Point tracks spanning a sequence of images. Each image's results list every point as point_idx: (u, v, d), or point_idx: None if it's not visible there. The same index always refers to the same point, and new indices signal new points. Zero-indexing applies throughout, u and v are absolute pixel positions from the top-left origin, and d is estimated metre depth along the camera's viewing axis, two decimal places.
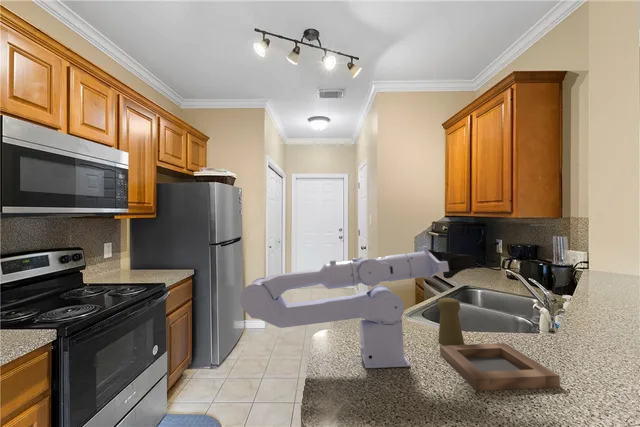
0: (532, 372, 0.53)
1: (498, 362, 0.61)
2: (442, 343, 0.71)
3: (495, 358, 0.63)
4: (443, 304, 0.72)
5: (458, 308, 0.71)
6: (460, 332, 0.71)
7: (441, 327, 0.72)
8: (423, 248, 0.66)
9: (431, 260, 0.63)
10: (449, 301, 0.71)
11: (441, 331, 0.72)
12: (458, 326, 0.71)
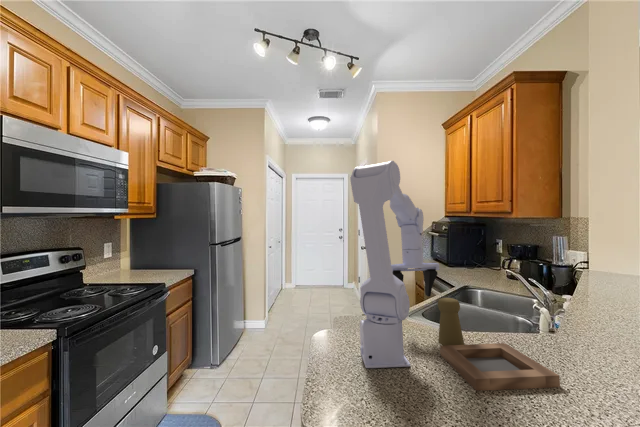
0: (532, 372, 0.53)
1: (498, 362, 0.61)
2: (442, 343, 0.71)
3: (495, 358, 0.63)
4: (443, 304, 0.72)
5: (458, 308, 0.71)
6: (460, 332, 0.71)
7: (441, 327, 0.72)
8: None
9: None
10: (449, 301, 0.71)
11: (441, 331, 0.72)
12: (458, 326, 0.71)
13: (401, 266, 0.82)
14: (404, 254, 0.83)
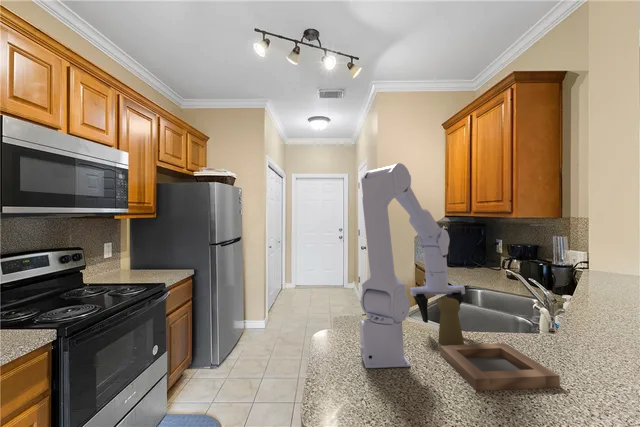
0: (532, 372, 0.53)
1: (498, 362, 0.61)
2: (442, 343, 0.71)
3: (495, 358, 0.63)
4: (443, 304, 0.72)
5: (458, 308, 0.71)
6: (460, 332, 0.71)
7: (441, 327, 0.72)
8: None
9: None
10: (449, 301, 0.71)
11: (441, 331, 0.72)
12: (458, 326, 0.71)
13: (425, 290, 0.78)
14: (428, 277, 0.79)
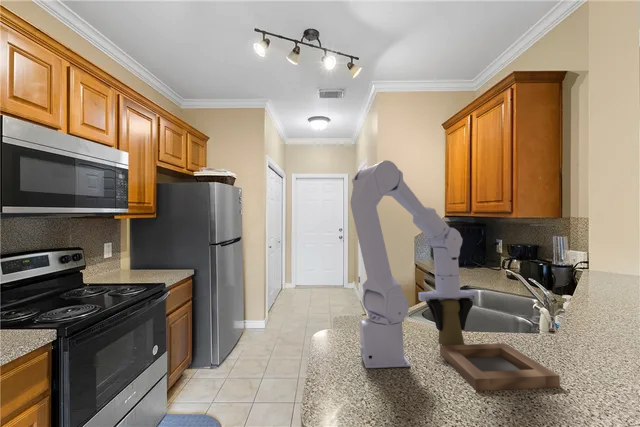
0: (532, 372, 0.53)
1: (498, 362, 0.61)
2: (442, 343, 0.71)
3: (495, 358, 0.63)
4: (443, 304, 0.72)
5: (458, 308, 0.71)
6: (460, 332, 0.71)
7: None
8: None
9: None
10: (449, 301, 0.71)
11: (441, 331, 0.72)
12: (458, 326, 0.71)
13: (435, 295, 0.71)
14: (438, 281, 0.72)
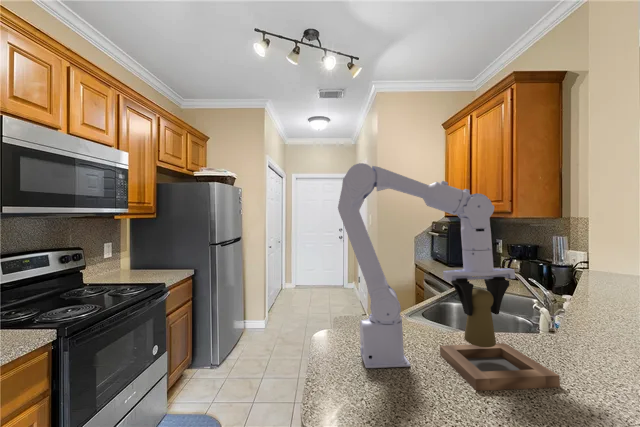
0: (532, 372, 0.53)
1: (498, 362, 0.61)
2: (471, 341, 0.61)
3: (495, 358, 0.63)
4: (475, 297, 0.60)
5: (492, 302, 0.60)
6: (492, 329, 0.60)
7: (470, 323, 0.61)
8: None
9: None
10: (482, 294, 0.60)
11: (470, 328, 0.61)
12: (491, 322, 0.60)
13: (464, 273, 0.60)
14: (467, 257, 0.61)
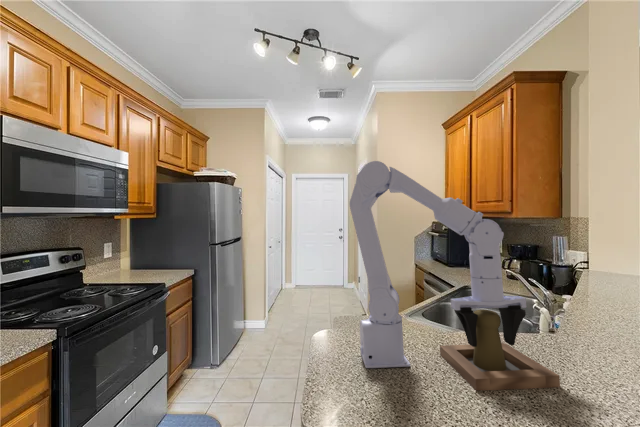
0: (532, 372, 0.53)
1: None
2: (480, 366, 0.59)
3: None
4: (481, 318, 0.59)
5: (499, 323, 0.59)
6: (502, 352, 0.58)
7: (478, 346, 0.60)
8: None
9: None
10: (488, 314, 0.59)
11: (478, 351, 0.59)
12: (499, 345, 0.58)
13: (473, 302, 0.58)
14: (476, 285, 0.59)
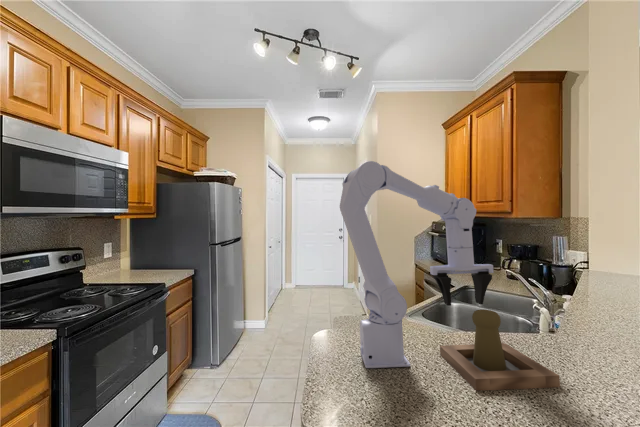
0: (532, 372, 0.53)
1: None
2: (480, 365, 0.59)
3: None
4: (481, 318, 0.59)
5: (499, 323, 0.59)
6: (502, 352, 0.58)
7: (478, 346, 0.60)
8: None
9: None
10: (488, 314, 0.59)
11: (478, 351, 0.59)
12: (499, 345, 0.58)
13: (448, 268, 0.68)
14: (451, 254, 0.69)
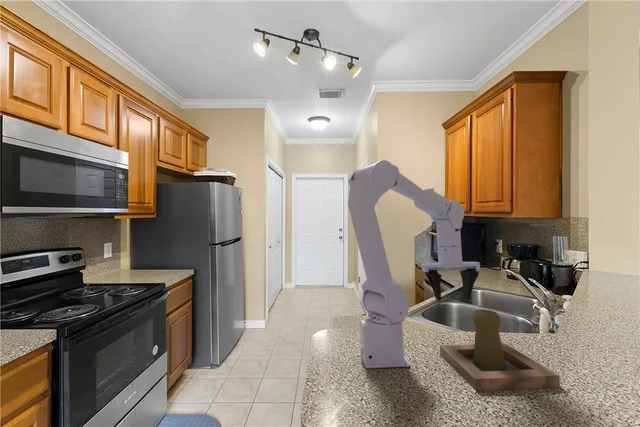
0: (532, 372, 0.53)
1: None
2: (480, 366, 0.59)
3: None
4: (481, 318, 0.59)
5: (499, 323, 0.59)
6: (502, 352, 0.58)
7: (478, 346, 0.60)
8: None
9: None
10: (488, 314, 0.59)
11: (478, 351, 0.59)
12: (499, 345, 0.58)
13: (438, 265, 0.74)
14: (441, 252, 0.75)
